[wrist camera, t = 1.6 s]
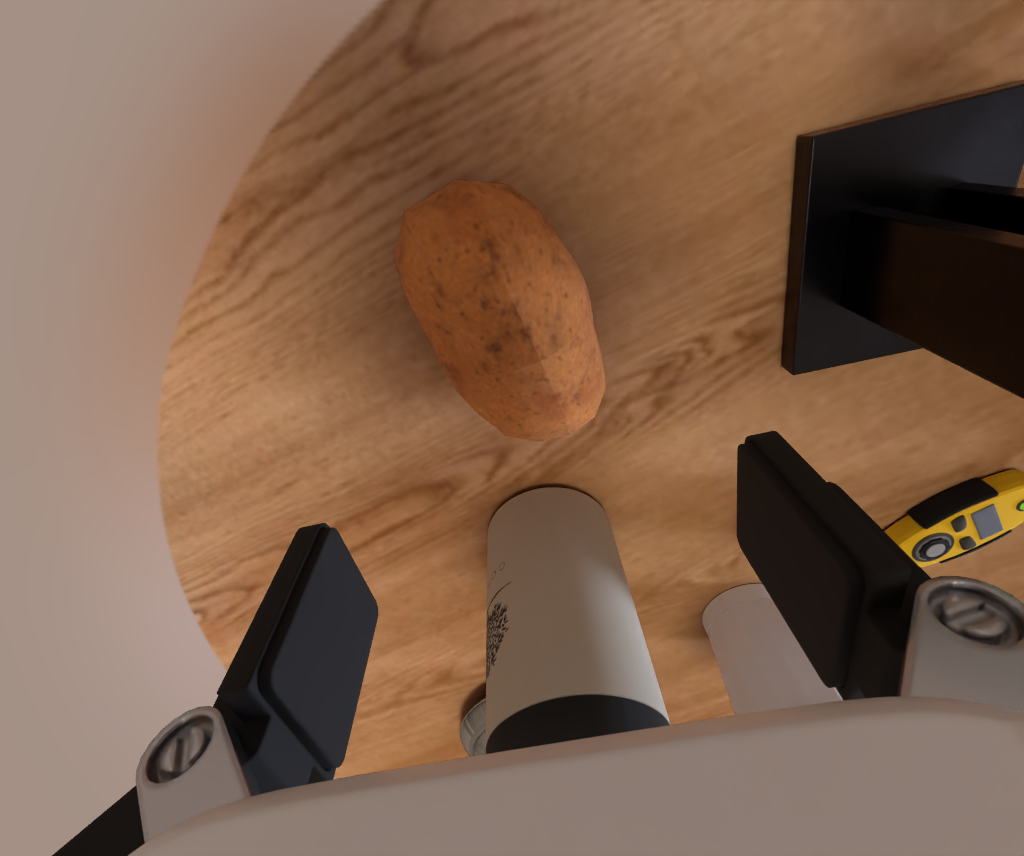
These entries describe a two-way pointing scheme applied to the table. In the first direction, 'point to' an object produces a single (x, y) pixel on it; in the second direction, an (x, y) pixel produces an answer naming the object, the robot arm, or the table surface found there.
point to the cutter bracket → (912, 239)
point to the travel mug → (561, 627)
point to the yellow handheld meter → (961, 519)
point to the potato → (503, 308)
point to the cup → (760, 654)
